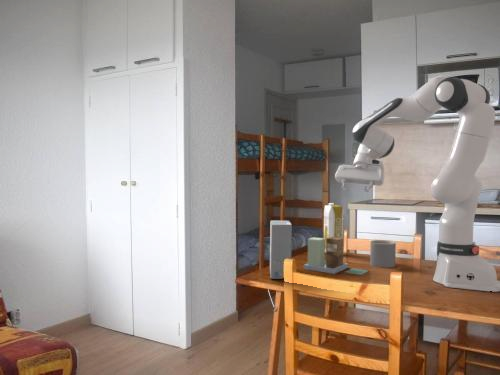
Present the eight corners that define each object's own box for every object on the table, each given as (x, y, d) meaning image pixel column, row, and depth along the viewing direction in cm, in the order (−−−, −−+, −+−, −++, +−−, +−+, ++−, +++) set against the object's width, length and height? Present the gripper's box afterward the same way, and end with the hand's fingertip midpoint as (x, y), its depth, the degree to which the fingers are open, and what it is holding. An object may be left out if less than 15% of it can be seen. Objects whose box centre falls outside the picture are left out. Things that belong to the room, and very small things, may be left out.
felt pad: (369, 272, 173) (369, 270, 173) (361, 276, 167) (361, 274, 167) (352, 269, 177) (352, 268, 177) (344, 273, 171) (344, 272, 171)
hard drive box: (291, 279, 161) (292, 225, 160) (270, 279, 161) (270, 224, 160) (288, 269, 176) (289, 219, 175) (269, 269, 176) (269, 219, 176)
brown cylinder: (342, 267, 178) (343, 238, 178) (337, 270, 174) (338, 239, 174) (331, 266, 181) (331, 236, 181) (325, 268, 177) (326, 238, 177)
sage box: (324, 268, 177) (325, 238, 176) (318, 270, 173) (319, 240, 172) (313, 266, 180) (313, 237, 179) (307, 269, 176) (307, 238, 175)
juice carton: (321, 252, 213) (322, 202, 212) (336, 251, 215) (337, 202, 214) (330, 256, 204) (330, 204, 203) (345, 255, 206) (346, 203, 205)
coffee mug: (384, 269, 178) (385, 244, 177) (365, 265, 186) (365, 241, 185) (405, 265, 185) (405, 241, 185) (385, 261, 193) (386, 238, 193)
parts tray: (347, 268, 179) (348, 263, 179) (334, 275, 168) (334, 269, 168) (318, 264, 186) (318, 259, 186) (303, 270, 176) (303, 264, 176)
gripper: (338, 158, 194) (329, 182, 187) (386, 161, 184) (378, 187, 177) (341, 168, 199) (332, 192, 191) (387, 172, 189) (380, 197, 181)
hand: (354, 189), depth 184 cm, fingers open, 8 cm apart
